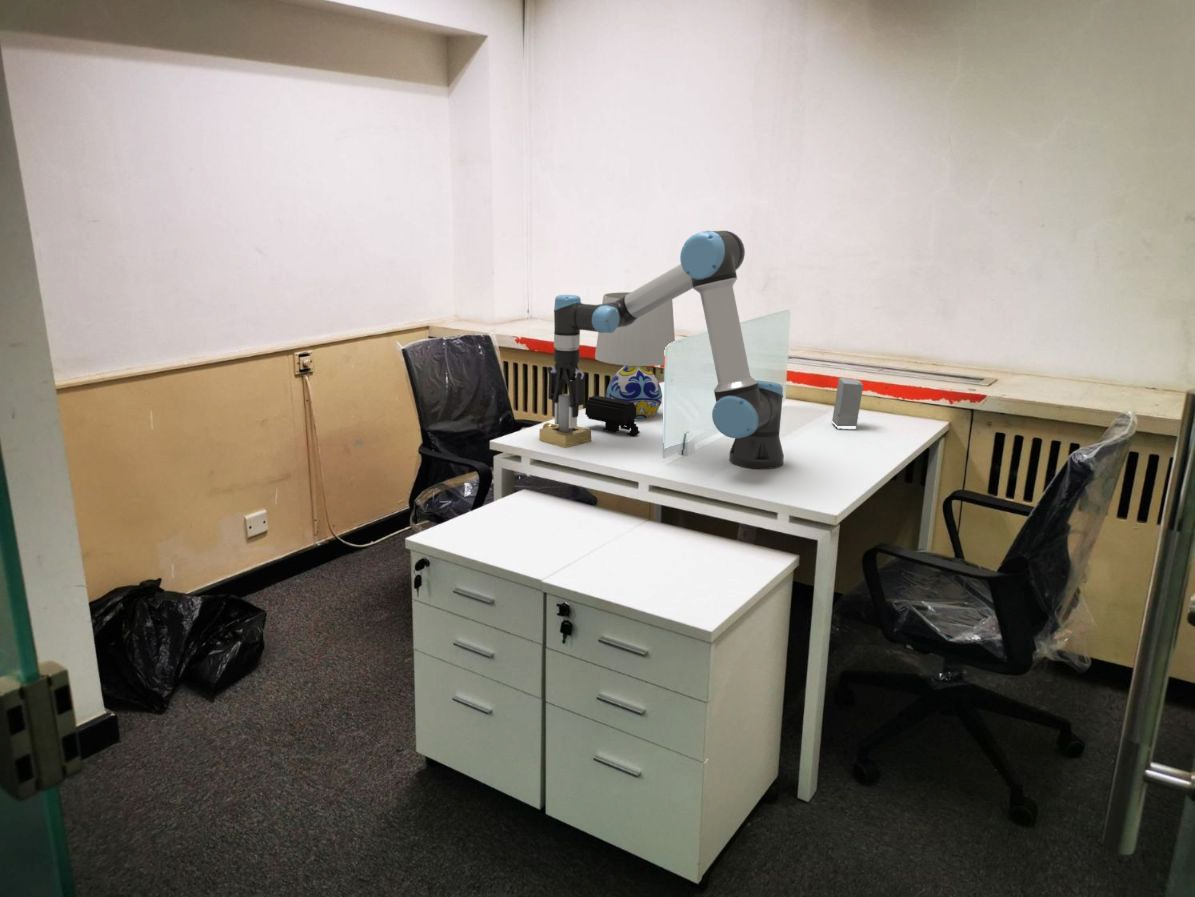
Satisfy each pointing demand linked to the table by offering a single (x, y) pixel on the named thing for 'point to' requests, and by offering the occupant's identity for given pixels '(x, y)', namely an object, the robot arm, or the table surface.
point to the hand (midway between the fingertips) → (565, 425)
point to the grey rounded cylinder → (564, 413)
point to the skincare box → (847, 402)
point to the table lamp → (637, 356)
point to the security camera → (613, 414)
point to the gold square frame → (564, 435)
